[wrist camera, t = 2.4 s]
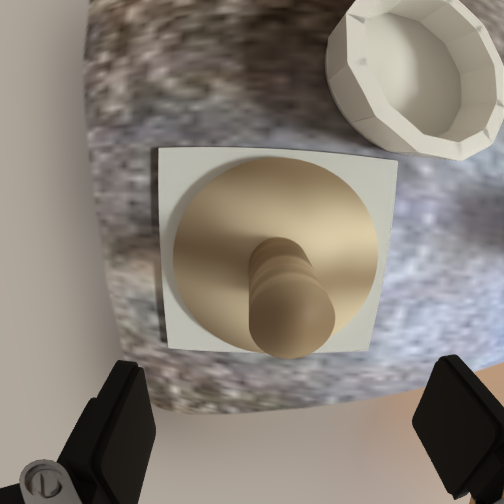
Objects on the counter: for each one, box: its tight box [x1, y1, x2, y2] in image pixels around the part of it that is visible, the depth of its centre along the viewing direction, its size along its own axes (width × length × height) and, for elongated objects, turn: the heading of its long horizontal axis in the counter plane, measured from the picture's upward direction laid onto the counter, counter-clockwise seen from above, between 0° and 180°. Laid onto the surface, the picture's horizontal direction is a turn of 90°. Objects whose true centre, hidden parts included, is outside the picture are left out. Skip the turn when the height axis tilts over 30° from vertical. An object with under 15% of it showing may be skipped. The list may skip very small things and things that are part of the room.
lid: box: [173, 158, 378, 359], centre depth 16 cm, size 13×13×8 cm
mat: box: [158, 147, 398, 353], centre depth 20 cm, size 14×15×1 cm
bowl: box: [325, 0, 504, 161], centre depth 15 cm, size 11×11×5 cm
